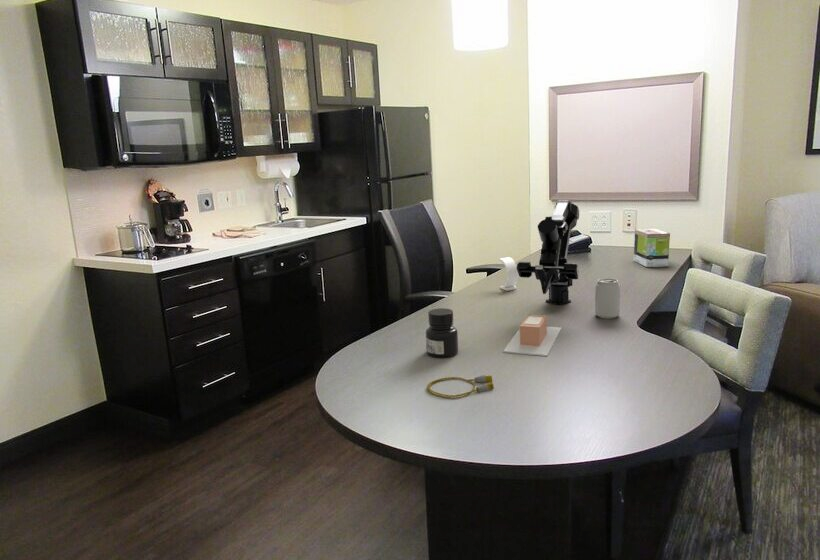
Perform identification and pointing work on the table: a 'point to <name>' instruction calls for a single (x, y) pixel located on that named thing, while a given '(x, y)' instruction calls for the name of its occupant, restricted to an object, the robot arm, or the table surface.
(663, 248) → the tea box
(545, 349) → the mat
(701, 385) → the table surface
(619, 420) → the table surface
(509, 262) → the headphone stand
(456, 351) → the ink bottle
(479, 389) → the extension cord
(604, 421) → the table surface
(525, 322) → the block
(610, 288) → the can
